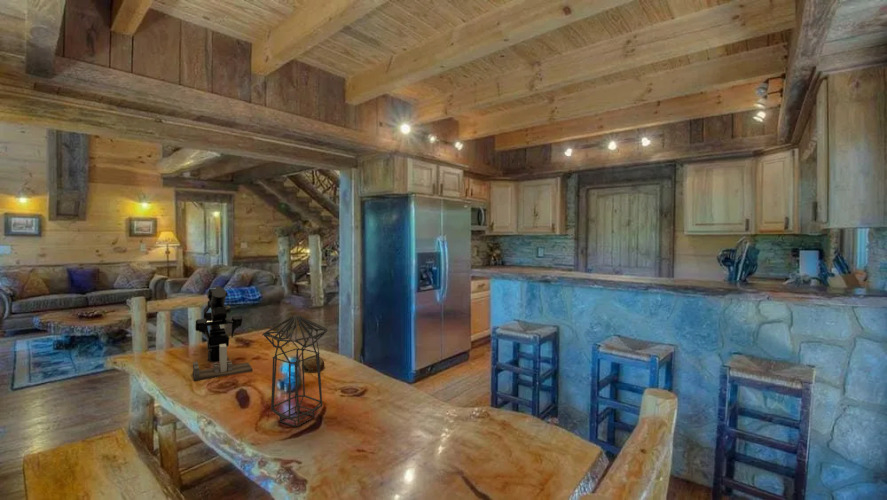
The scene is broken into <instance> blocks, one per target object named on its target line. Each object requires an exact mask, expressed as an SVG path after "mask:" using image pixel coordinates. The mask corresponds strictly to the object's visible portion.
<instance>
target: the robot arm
mask: <svg viewBox="0 0 887 500" xmlns="http://www.w3.org/2000/svg"><path fill="white" fill-rule="evenodd" d="M206 293H207V294H206V297H207V299H208V300H207V305H206V306H205V308H204V309H203V313H202V315H203V318H200V319H199V318H198V319H196V320H195V328H194V329H195V332H199V333H202V334H203V335H204V336H205V338H206V347H207V350H208V351H207V361H209V362H212V363H217V362H219V344H226V346H227V348H228V347H229V346H230V344H229V343H230V336H231V338H233V337H234V334H235V331H236V329H238V328H239V327H241V326H242V323H243V316H242V315H233V316H232V318H231V319H227V314H230V313H231V311H232V310H231V305H226V306H225V302H226V297H227V296H228V292H227V291H226V290H225V288H224V287H223V288H222V286H215V288H209V289H208V291H207V292H206ZM209 310H210V312H208V311H209ZM222 325H231V328H230V331H231V333H230V336H229V335H228V334H227V332H226V329H225V328H224V327H221V326H222ZM208 327H209V328H208Z"/></svg>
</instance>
